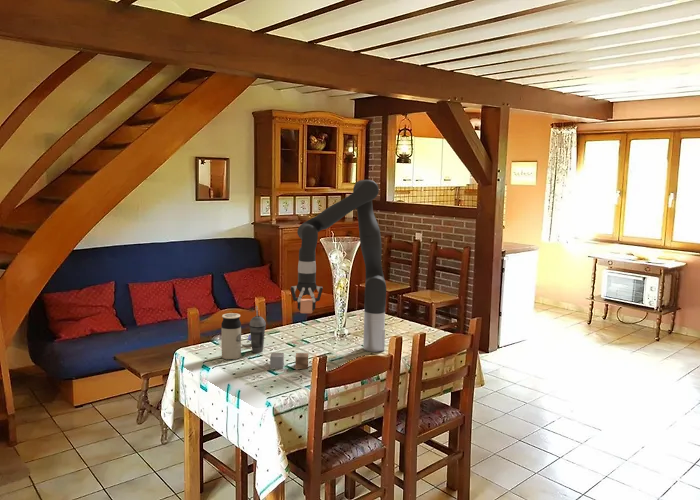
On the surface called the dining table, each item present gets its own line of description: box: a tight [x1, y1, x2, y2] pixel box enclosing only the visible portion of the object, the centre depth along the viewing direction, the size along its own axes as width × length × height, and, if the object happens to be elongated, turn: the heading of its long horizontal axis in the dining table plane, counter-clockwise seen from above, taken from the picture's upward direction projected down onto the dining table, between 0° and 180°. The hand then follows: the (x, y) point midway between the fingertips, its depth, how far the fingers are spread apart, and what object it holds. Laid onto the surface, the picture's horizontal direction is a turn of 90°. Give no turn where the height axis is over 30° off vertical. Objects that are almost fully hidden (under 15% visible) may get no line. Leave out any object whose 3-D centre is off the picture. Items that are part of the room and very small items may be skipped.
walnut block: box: [294, 352, 309, 370], centre depth 232 cm, size 5×5×5 cm
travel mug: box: [220, 312, 242, 360], centre depth 240 cm, size 8×8×18 cm
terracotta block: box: [299, 298, 313, 314], centre depth 245 cm, size 5×5×5 cm
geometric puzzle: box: [246, 332, 251, 343], centre depth 258 cm, size 7×7×8 cm
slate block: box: [269, 352, 285, 370], centre depth 231 cm, size 5×5×5 cm
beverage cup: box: [248, 305, 267, 354], centre depth 248 cm, size 7×7×20 cm
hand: (306, 310), depth 245 cm, fingers closed on terracotta block, 5 cm apart
